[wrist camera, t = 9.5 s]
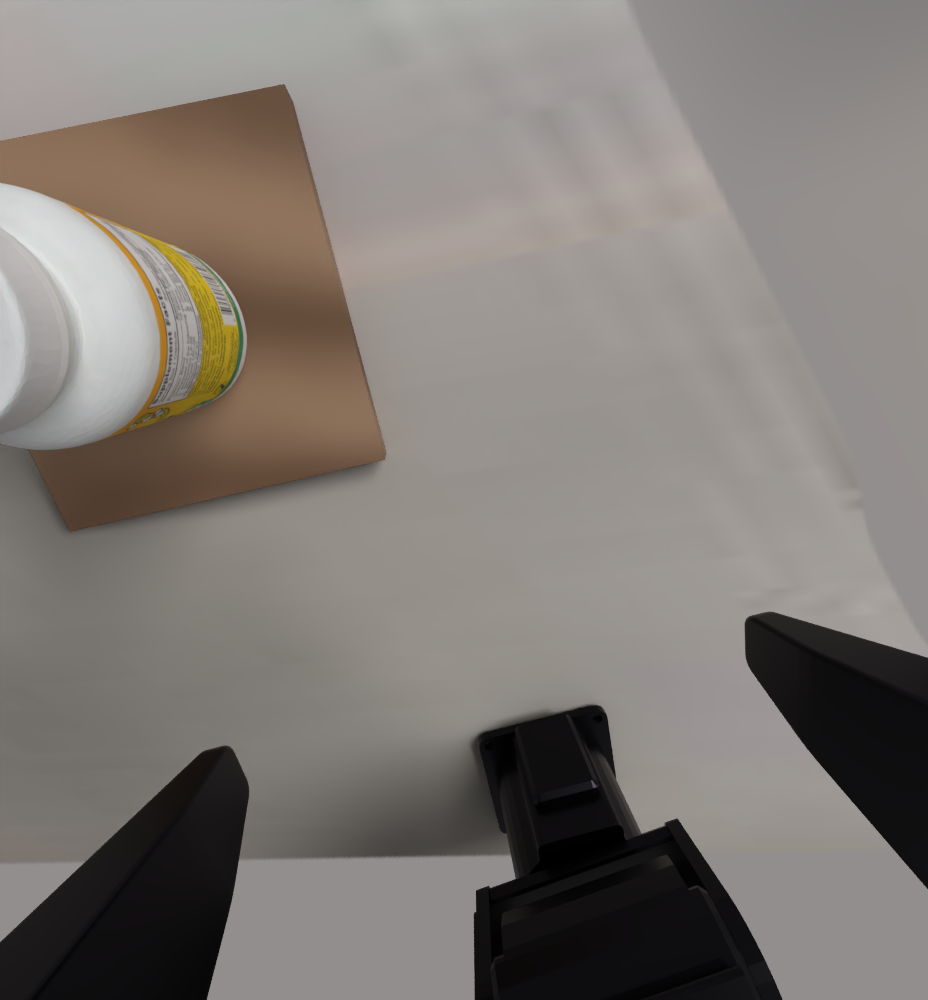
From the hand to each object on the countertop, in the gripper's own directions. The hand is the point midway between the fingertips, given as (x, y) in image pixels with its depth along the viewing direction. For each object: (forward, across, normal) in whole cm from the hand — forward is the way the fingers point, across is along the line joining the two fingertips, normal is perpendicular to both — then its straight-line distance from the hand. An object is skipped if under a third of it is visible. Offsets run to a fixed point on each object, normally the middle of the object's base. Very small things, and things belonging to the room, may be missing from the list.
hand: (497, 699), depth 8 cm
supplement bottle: (+12, +8, -8) cm, 16 cm away
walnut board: (+13, +8, -8) cm, 17 cm away
